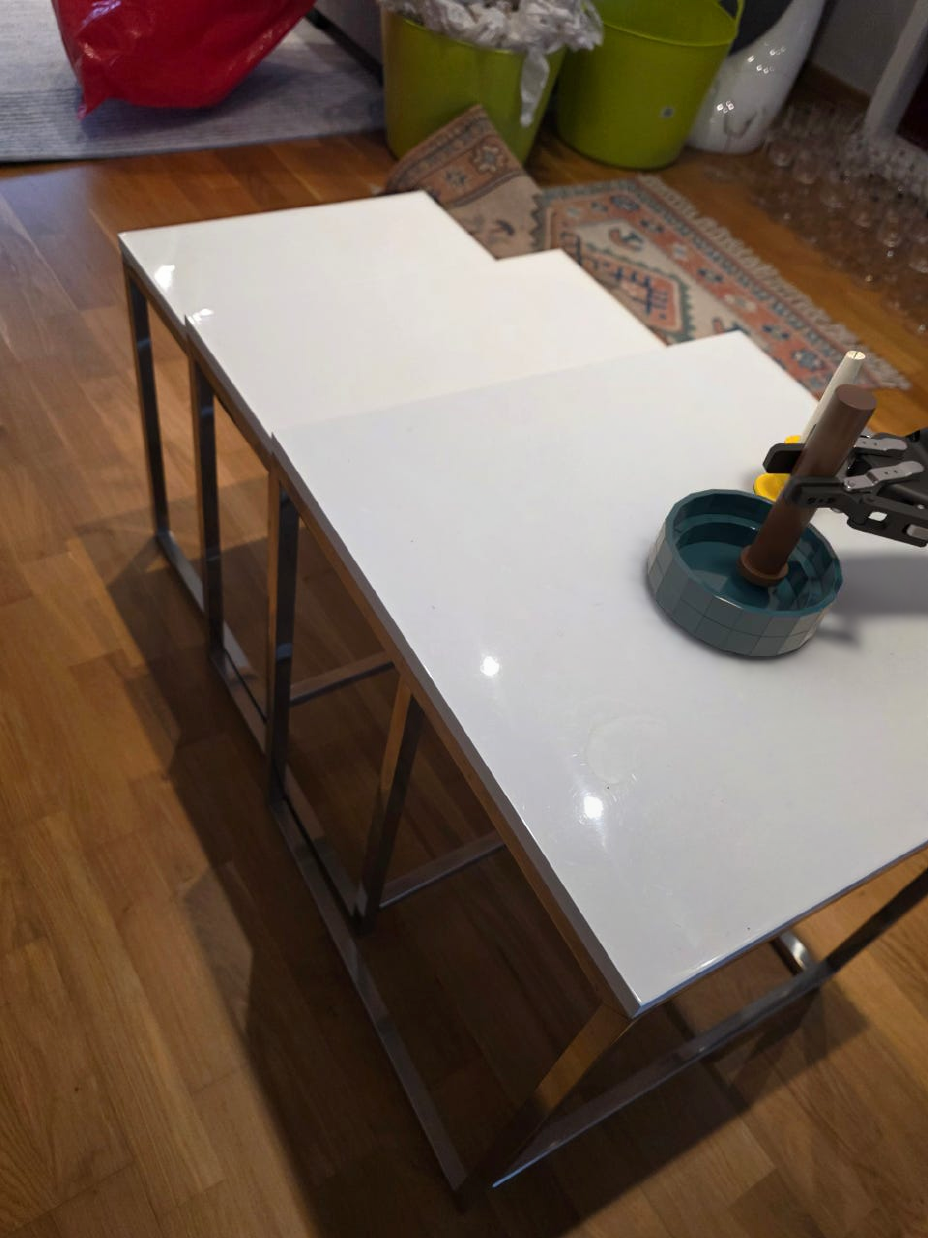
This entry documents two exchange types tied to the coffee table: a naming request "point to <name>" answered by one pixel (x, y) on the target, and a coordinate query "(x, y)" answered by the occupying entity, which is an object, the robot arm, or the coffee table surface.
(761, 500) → the bowl
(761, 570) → the rod
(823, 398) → the candle
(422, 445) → the coffee table surface
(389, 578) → the coffee table surface
